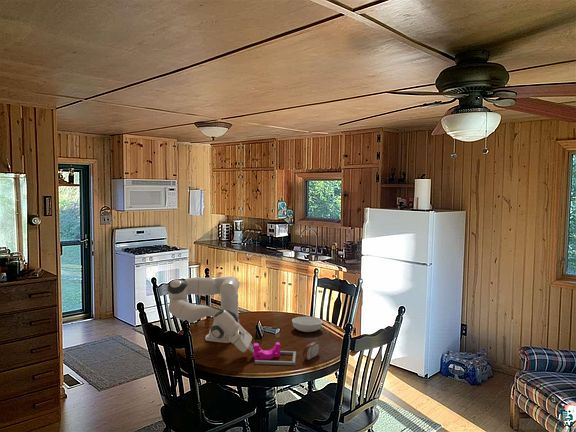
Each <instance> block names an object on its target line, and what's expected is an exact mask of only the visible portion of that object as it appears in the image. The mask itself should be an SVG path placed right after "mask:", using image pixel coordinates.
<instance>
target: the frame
mask: <svg viewBox="0 0 576 432" xmlns="http://www.w3.org/2000/svg"><path fill="white" fill-rule="evenodd" d="M268 350H269V349H268ZM268 350H265V351H268ZM276 353H277V352H276ZM280 355H285V356H286V355H288V356H289V355H290V356H291V355H292V361H288V360H286V361H285V360H266V359H261V360H254V364H255V365H277V366H278V365H279V366H296V357H297V351H295V350H294V351H292V350H291V351H290V350H289V351H288V350H280Z"/></svg>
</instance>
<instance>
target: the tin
mask: <svg viewBox="0 0 576 432" xmlns="http://www.w3.org/2000/svg"><path fill="white" fill-rule="evenodd" d="M319 352H320V343H319V342H318V341H315V340H314V341H311V342H310V343H308V344H306V345H305V346H304V348H303V351H302V357H303V359H304V360H306V361H307V360H309V361H310V360H311V359H313V358H315V357H317V356H318V354H319Z"/></svg>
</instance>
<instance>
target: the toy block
mask: <svg viewBox="0 0 576 432" xmlns="http://www.w3.org/2000/svg"><path fill="white" fill-rule="evenodd" d="M253 347H254V349H255V351H254V352H253V359H254V361H255V360H272V359H273V358H280V357H281V354H280V351H281V344H280V342H279V341H277V342H275V344H274V346H273V347H272V348H271V349H268V351H265V350H264V349H262V348H261V347H260V345H259V343H258V342H254V343H253ZM276 352H277V353H276Z"/></svg>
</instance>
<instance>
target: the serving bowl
mask: <svg viewBox="0 0 576 432" xmlns="http://www.w3.org/2000/svg"><path fill="white" fill-rule="evenodd" d="M291 322H292V326H293V327H294V329H296V330H297V331H298V332H299V331H300V332H304V333H312V332H316V331H318V330H320V328H322V326H323V325H322V324H323V320H322V319H320V318H318V317H314V316H297V317H295V318H292V319H291Z"/></svg>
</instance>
